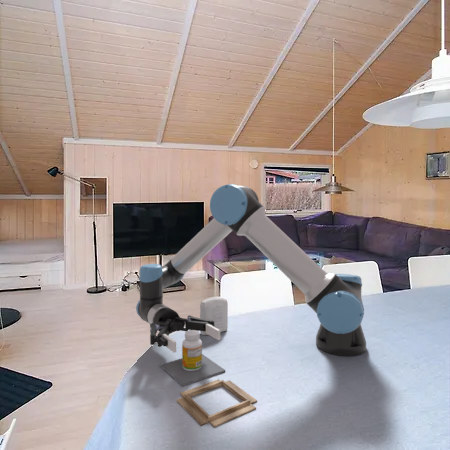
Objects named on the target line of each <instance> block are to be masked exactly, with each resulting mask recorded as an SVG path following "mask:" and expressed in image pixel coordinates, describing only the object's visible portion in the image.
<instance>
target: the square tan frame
mask: <svg viewBox="0 0 450 450" xmlns="http://www.w3.org/2000/svg"><path fill="white" fill-rule="evenodd" d="M222 386H223V387H224V388H225V389H227V390H228V392H229V391H230V392H231V393H232V394H233V395H235V396H236V397H237V398H239V400H241V401H242V402H238V403H237V404H234V405H231V406H229V407H227V408H225V409H223V410H220V411H217V412H214V413H213V414H209V413H208V412H207V411H206V410H205V409H204V408H203V407H202V406H200V404H199V403H197V401H195V400H194V399H193V398H192V397H194V396H197V395H200V394H202V393H205V392H208V391H210V390H213V389H216V388H218V387H219V388H220V387H222ZM180 396H181V397H179V398H177V399H176V402H177V403H178V404H179V405H180V406H181V407H182V408H183V409H184V410H185V411H186V412H187V414H189V415H190V416H191V417H192V418H193V419H194V420H195V421H196V422H197V424H198V425H200V426H204V425H206V424H208V423H209V424H210V425H211V426H213V427H214V428H216V427H219V426H220V425H223V424H225V423H227V422H229V421H231V420H234V419H236V418H238V417H240V416H243V415H246V414H247V413H250V412H253V411H254V410H256V409H257V407H256V406H255V405H253V404H254V403H258V400H257V398H255V397H254V396H253V395H250V394H249V393H247V392H246V391H245V390H244V389H242V388H241V387H239V386H238V385H237V384H235V383H234V382H233V381H231V380H230V379H229V380H226V381H225V380H223V379H222V380H220V379H215V380H213V381H210V382H207V383H203V384H202V385H198V386H196V387H193V388H191V389H187V390H185V391H181V392H180Z"/></svg>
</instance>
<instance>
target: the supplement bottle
mask: <svg viewBox="0 0 450 450" xmlns="http://www.w3.org/2000/svg"><path fill="white" fill-rule="evenodd" d="M200 334H201V333H200V331H197V330H188V331H184V339H183V341H182V342H181V343H182V346H181V348H182V349H181V350H182V351H181V352H182V357H181V358H182V367H183V369H184V370H187V371H196V370H199V369H200V368H201V367H202V354H203V341H202V340H201V338H200V337H201V336H200Z"/></svg>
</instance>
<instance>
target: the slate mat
mask: <svg viewBox="0 0 450 450" xmlns="http://www.w3.org/2000/svg"><path fill="white" fill-rule="evenodd" d="M160 367H161V369H163V370H164V371H165V372H166V373H167V374H168V375H170V376H171V377H172V378H173V379H174V380H175V381H176V382H177V383H178V385H180V386H181V387H184V386H188V385H191V384H193V383H196V382H199V381H203V380H205V379H208V378H211V377H214V376H217V375H220V374H222V373H225V372H226V369H224V368H223V367H222V366H220V365H219V364H217V363H216V362H215V361H213V360H211V359H210V358H209V357H207V356H205V354H203V353H202V367H201V368H200V369H199V370H196V371H187V370H184V369H183V367H182V357H181V358H179V359H174V360H172V361H168V362H165V363H161V364H160Z"/></svg>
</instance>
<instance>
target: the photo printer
mask: <svg viewBox="0 0 450 450" xmlns="http://www.w3.org/2000/svg"><path fill="white" fill-rule="evenodd" d="M199 305H200V307H199V308H200V309H199V310H200V311H199V314H200V315H199V318H202V319H207V320H213V321H214V327H216V328H217V329H219V330H220V333H222V332H226V331H228V323H229V322H228V319H229V317H228V316H229V315H228V312H229V309H228V308H229V307H228V306H229V305H228V299H227V298H226V297H223V296H212V297H209V298H206V299H204V300H202V301H201V302H200V304H199ZM199 333H200V334H201V335H202V336H207V335H208V334H207V333H206V331H199ZM208 336H209V335H208Z"/></svg>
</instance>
